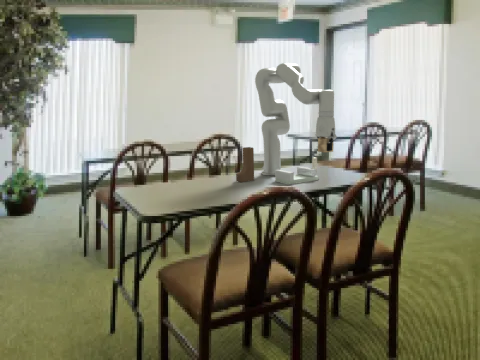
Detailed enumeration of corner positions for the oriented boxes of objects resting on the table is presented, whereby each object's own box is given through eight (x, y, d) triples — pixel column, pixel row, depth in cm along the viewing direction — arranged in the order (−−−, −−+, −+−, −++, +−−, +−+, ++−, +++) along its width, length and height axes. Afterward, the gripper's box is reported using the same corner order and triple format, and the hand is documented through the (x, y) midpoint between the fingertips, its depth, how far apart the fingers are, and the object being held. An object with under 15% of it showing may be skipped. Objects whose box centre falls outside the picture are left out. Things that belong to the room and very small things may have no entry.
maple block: (317, 151, 252) (318, 138, 250) (326, 150, 255) (326, 137, 253) (324, 152, 247) (324, 138, 246) (333, 151, 251) (333, 138, 249)
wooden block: (240, 182, 260) (239, 149, 257) (236, 181, 264) (235, 148, 260) (254, 180, 264) (253, 147, 261) (250, 179, 268) (249, 146, 265)
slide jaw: (297, 173, 268) (297, 158, 267) (309, 171, 273) (309, 156, 271) (311, 176, 258) (311, 160, 257) (323, 174, 263) (323, 158, 261)
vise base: (275, 181, 261) (275, 170, 260) (304, 176, 271) (304, 166, 270) (289, 184, 251) (289, 173, 250) (318, 179, 261) (318, 168, 260)
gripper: (309, 114, 253) (309, 149, 256) (332, 115, 238) (331, 152, 242) (320, 113, 256) (320, 147, 260) (343, 115, 242) (342, 151, 246)
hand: (325, 149), depth 251 cm, fingers closed on maple block, 5 cm apart
